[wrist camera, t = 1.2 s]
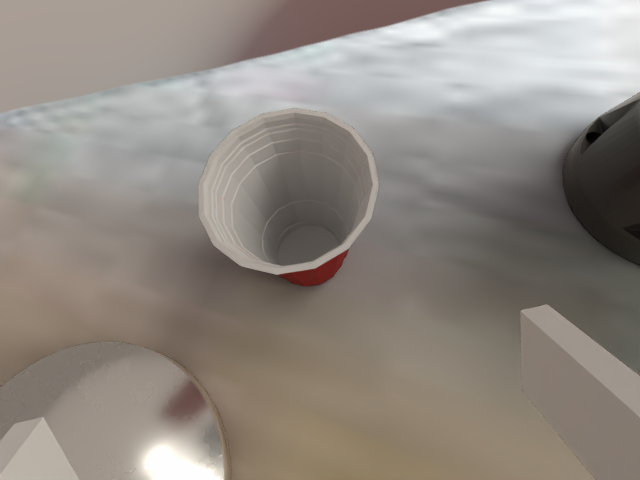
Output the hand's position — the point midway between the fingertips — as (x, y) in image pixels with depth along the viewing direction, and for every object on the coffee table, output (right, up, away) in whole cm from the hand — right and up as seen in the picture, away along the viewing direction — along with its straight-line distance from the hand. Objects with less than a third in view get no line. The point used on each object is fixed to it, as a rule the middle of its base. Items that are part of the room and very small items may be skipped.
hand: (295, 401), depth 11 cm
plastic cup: (0, +3, +23) cm, 23 cm away
